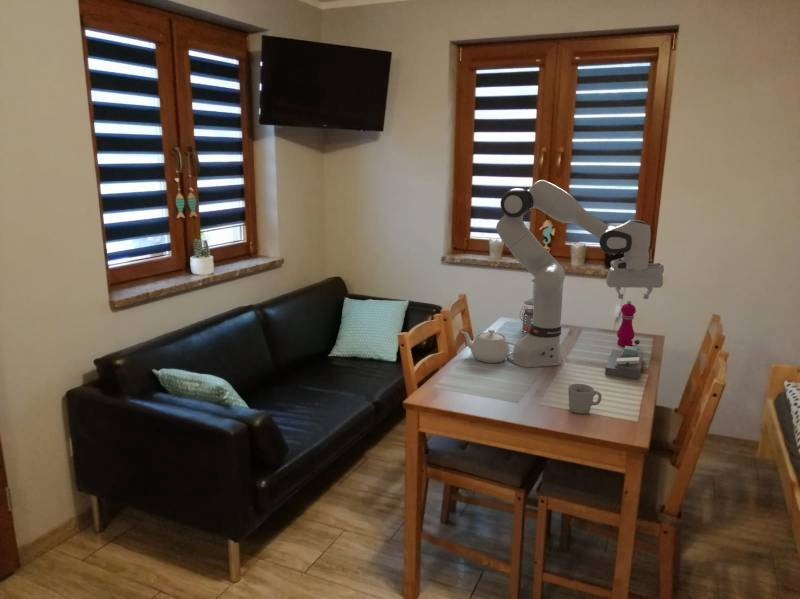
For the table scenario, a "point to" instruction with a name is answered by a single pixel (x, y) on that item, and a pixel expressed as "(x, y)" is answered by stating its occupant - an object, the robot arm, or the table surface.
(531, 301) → the french press
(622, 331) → the pepper mill
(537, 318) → the robot arm
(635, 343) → the toggle lever
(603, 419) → the table surface
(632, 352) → the push button
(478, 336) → the teapot
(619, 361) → the rocker switch
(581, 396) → the cup
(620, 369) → the control panel
